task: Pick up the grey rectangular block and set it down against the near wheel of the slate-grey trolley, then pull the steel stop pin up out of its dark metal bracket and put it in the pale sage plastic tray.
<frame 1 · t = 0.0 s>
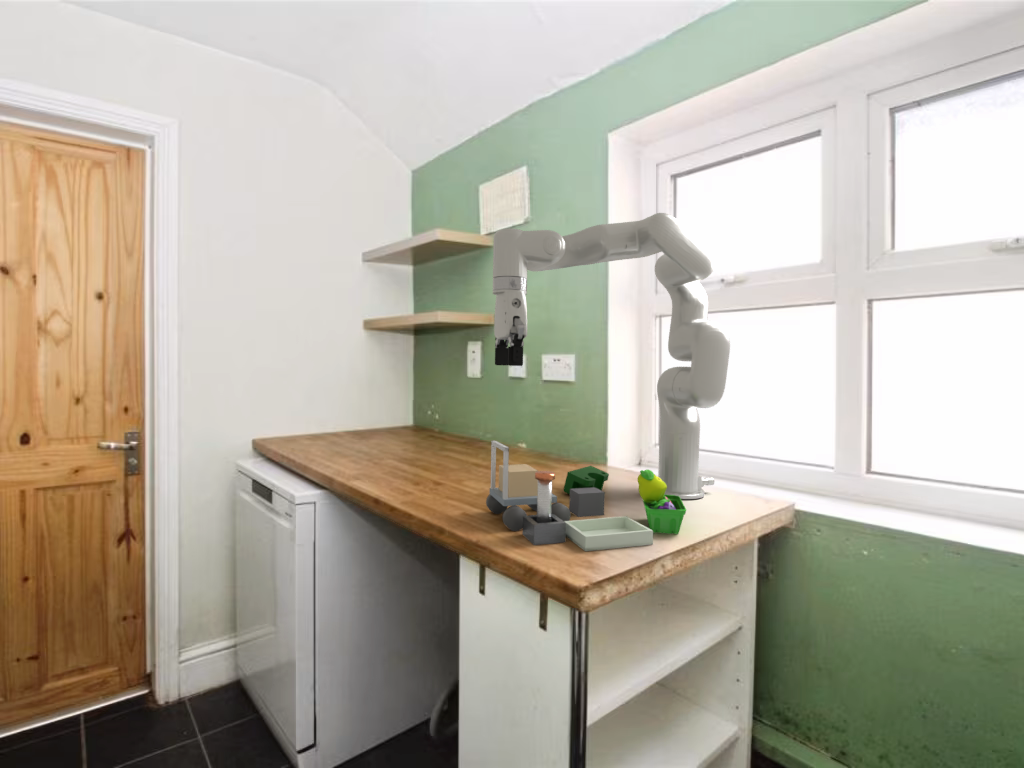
hand: (508, 365, 117), 31 cm above the counter, fingers open, 9 cm apart
grey rectangular block: (586, 513, 113), on the counter
trolley: (526, 519, 108), on the counter
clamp: (586, 494, 131), on the counter
fruit basket: (659, 527, 105), on the counter
stop pin: (544, 505, 96), in the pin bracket
tray: (606, 539, 96), on the counter
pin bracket: (543, 538, 96), on the counter
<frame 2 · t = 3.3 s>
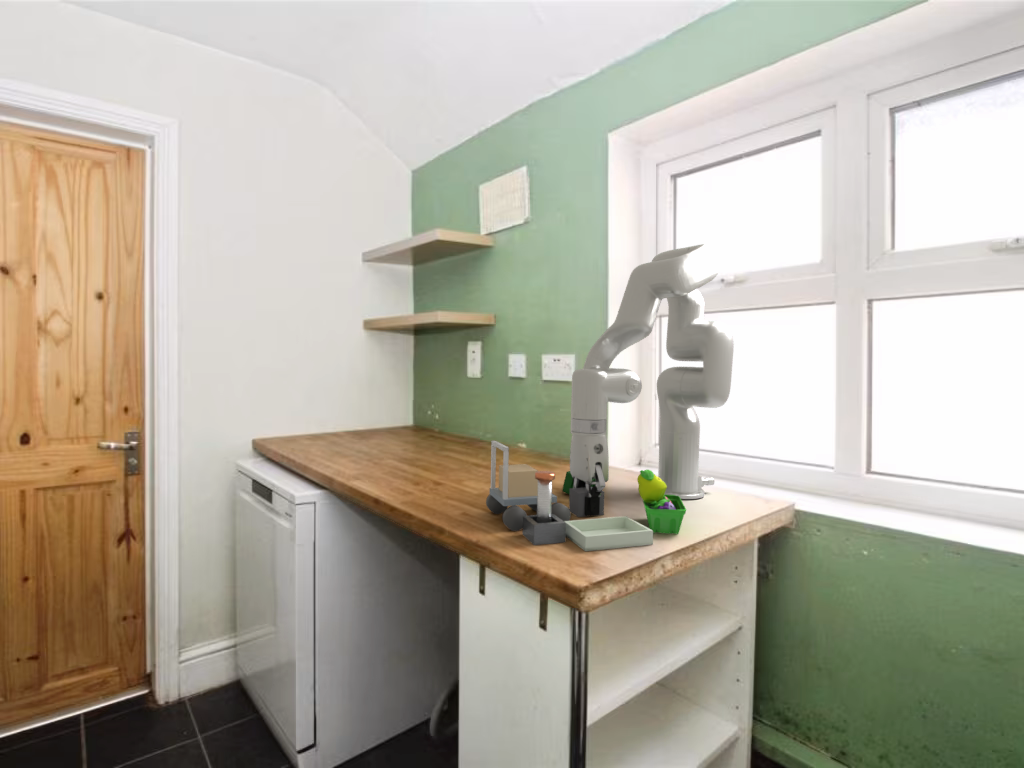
hand: (586, 511, 113), 0 cm above the counter, fingers closed on grey rectangular block, 4 cm apart
grey rectangular block: (586, 513, 113), on the counter, touching gripper
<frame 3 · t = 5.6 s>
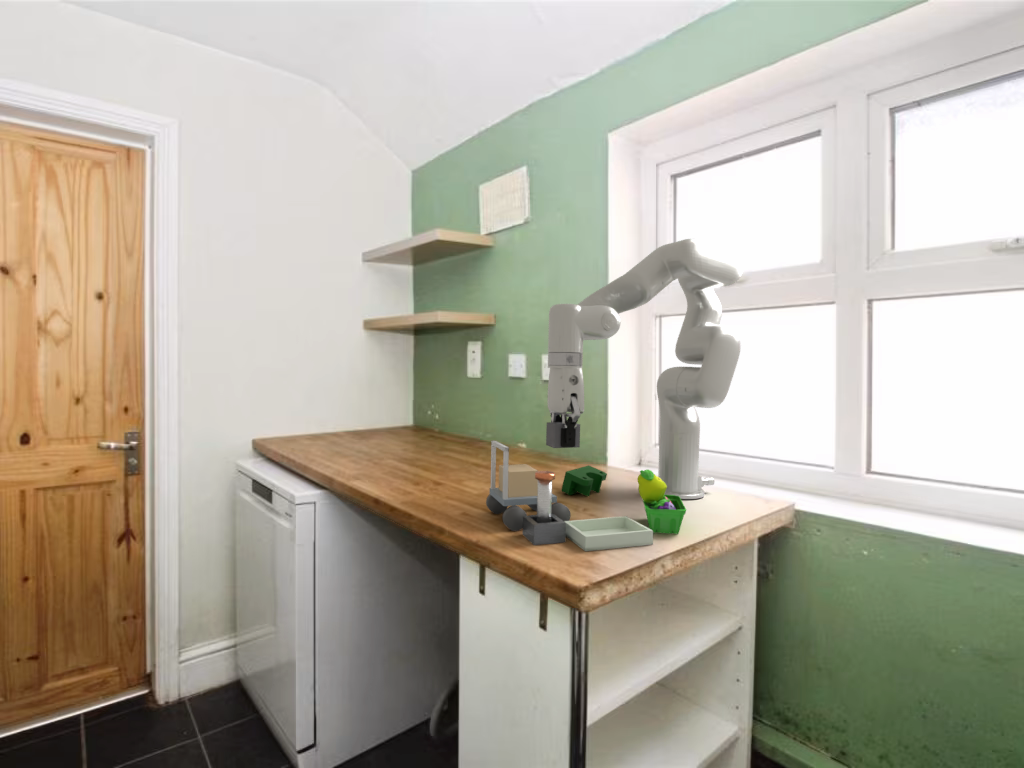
hand: (562, 444, 116), 14 cm above the counter, fingers closed on grey rectangular block, 4 cm apart
grey rectangular block: (562, 446, 116), point 14 cm above the counter, touching gripper
everything else where it was.
when the fingers open (2 cm above the counter, at t = 8.1 s): grey rectangular block drops 1 cm, on the counter.
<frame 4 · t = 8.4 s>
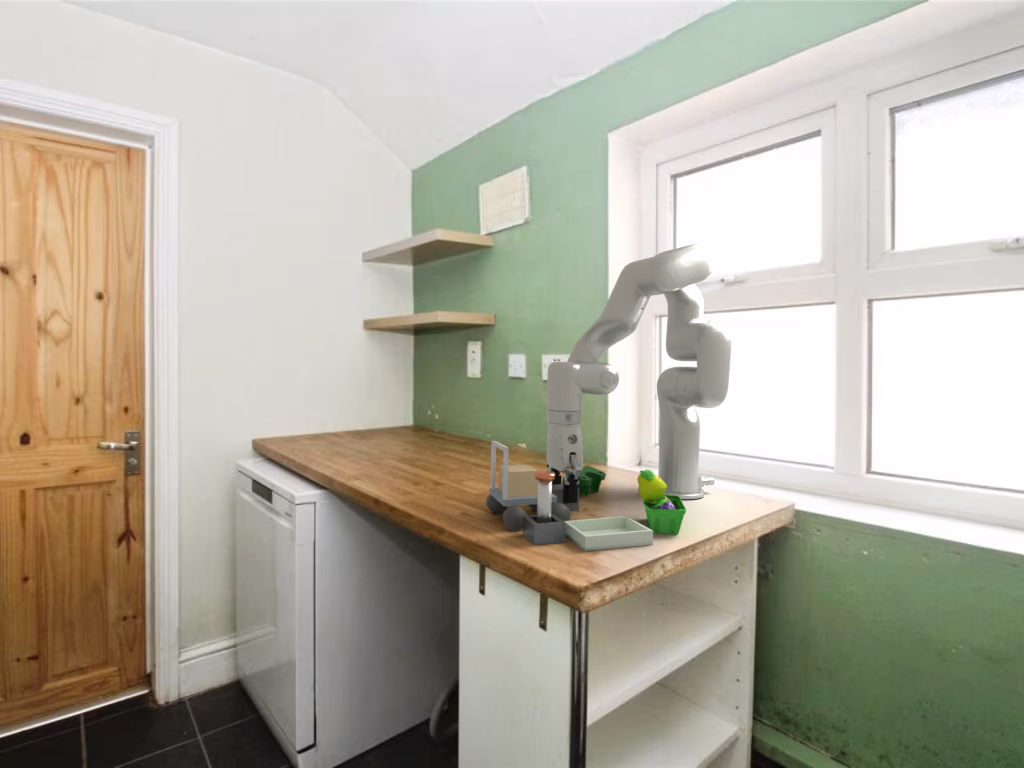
hand: (561, 497, 116), 2 cm above the counter, fingers open, 8 cm apart
grey rectangular block: (561, 509, 116), on the counter
everything else where it was.
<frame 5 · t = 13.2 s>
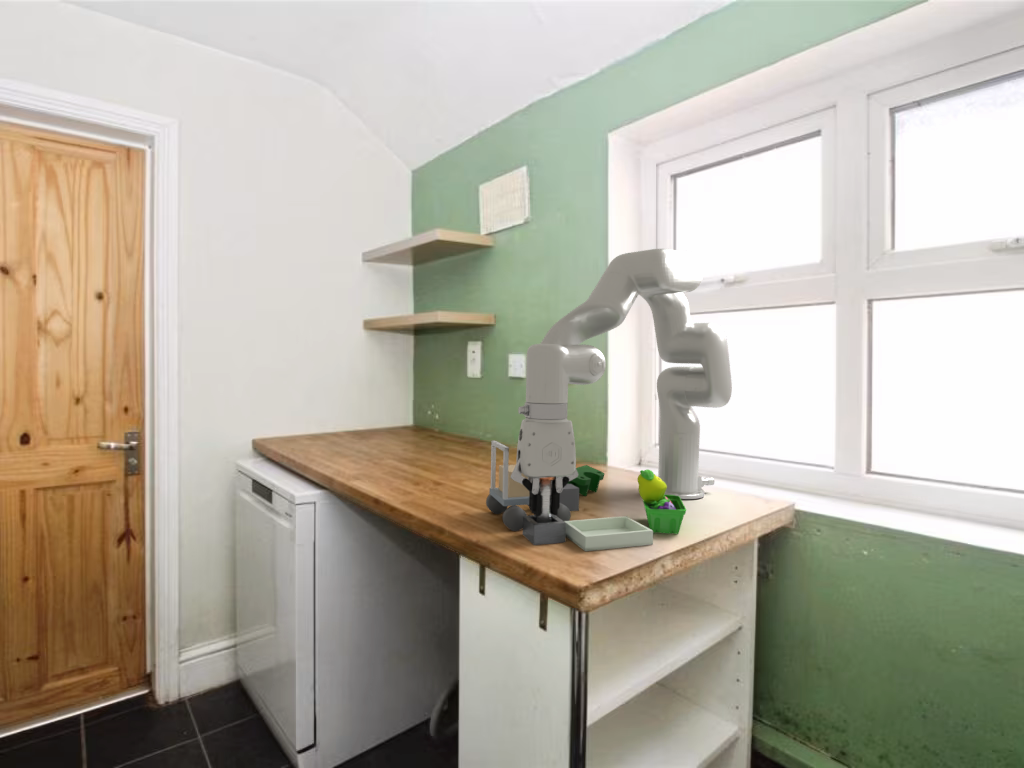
hand: (544, 512, 96), 5 cm above the counter, fingers closed on stop pin, 2 cm apart
stop pin: (544, 505, 96), in the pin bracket, touching gripper
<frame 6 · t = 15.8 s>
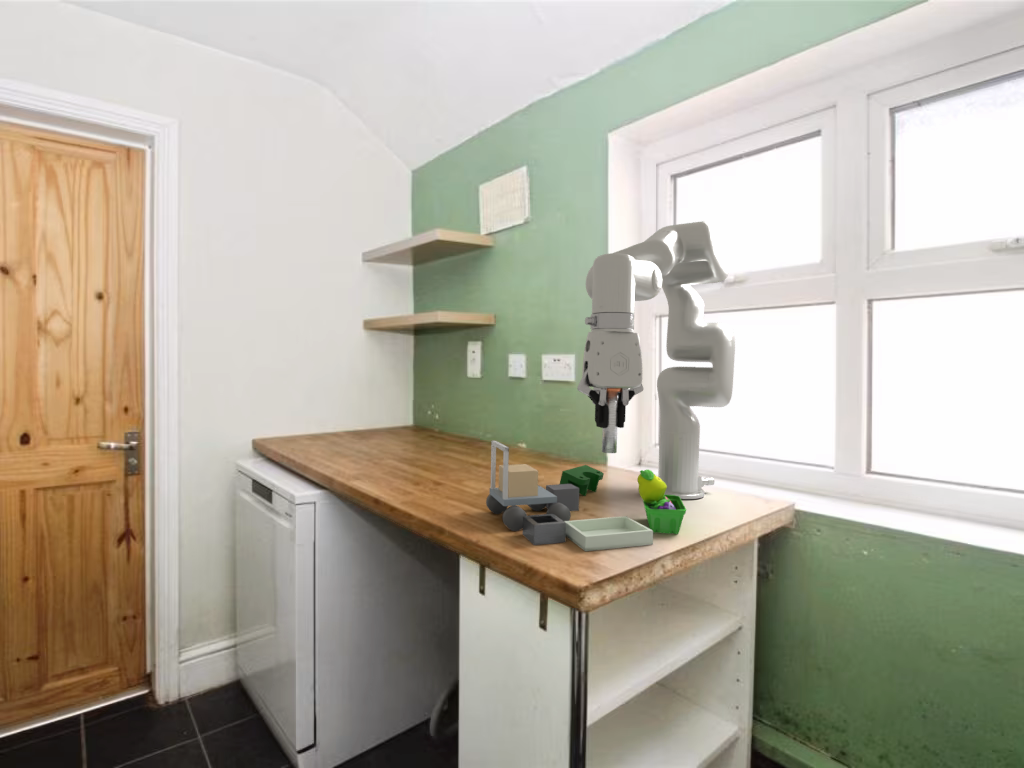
hand: (609, 426, 96), 21 cm above the counter, fingers closed on stop pin, 2 cm apart
stop pin: (610, 418, 95), point 22 cm above the counter, touching gripper
when the fingers open (7 cm above the counter, at t = 18.4 s): stop pin drops 2 cm, resting on tray.
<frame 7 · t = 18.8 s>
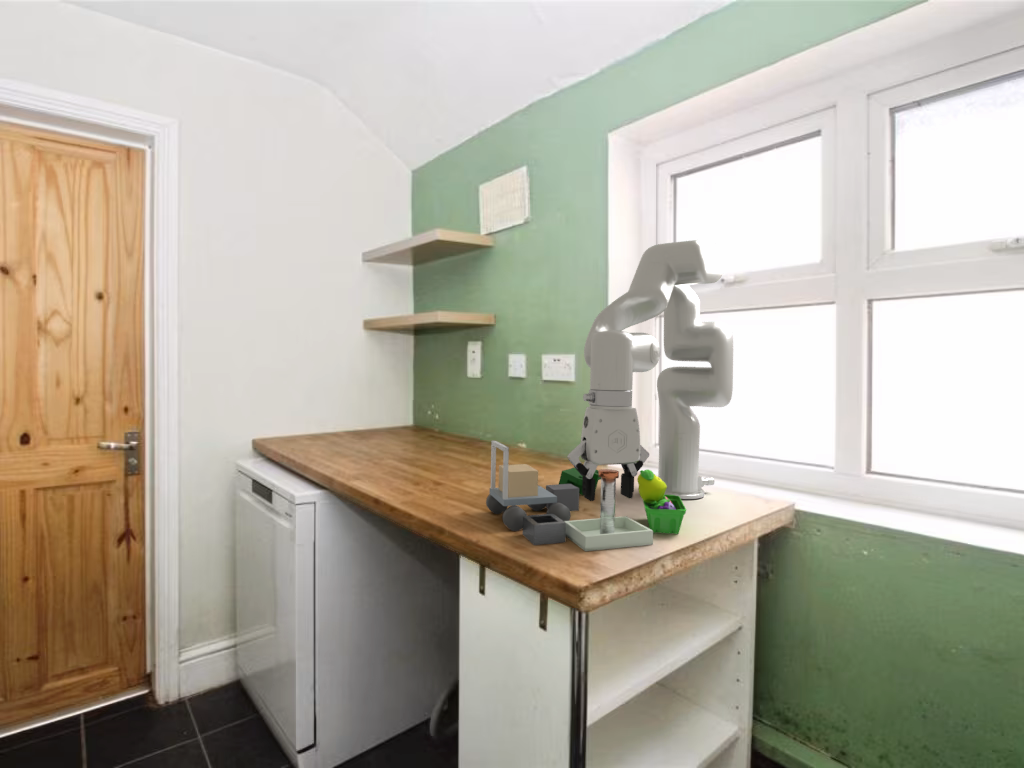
hand: (608, 497, 96), 8 cm above the counter, fingers open, 7 cm apart
stop pin: (607, 503, 96), in the tray
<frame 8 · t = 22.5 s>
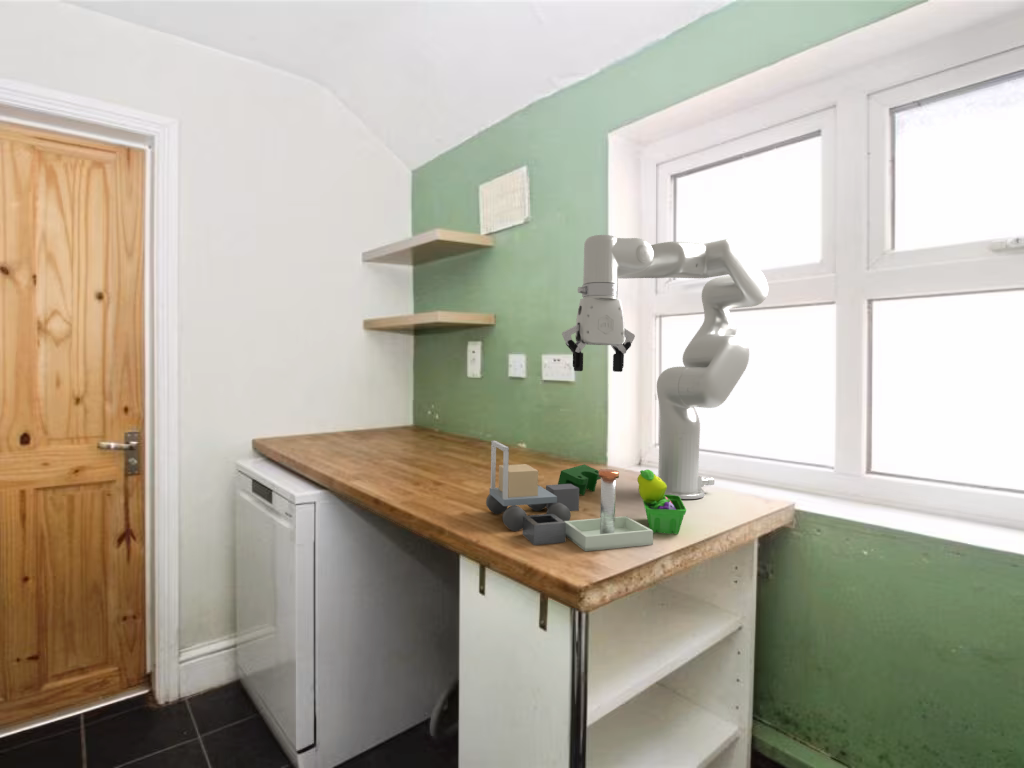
hand: (598, 371, 117), 30 cm above the counter, fingers open, 9 cm apart
at the end: grey rectangular block 0.5 cm from the target spot, on the counter; stop pin inside the target area on the tray (0.0 cm from its centre), point 6.5 cm above the tray's base; the gripper is holding nothing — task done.
